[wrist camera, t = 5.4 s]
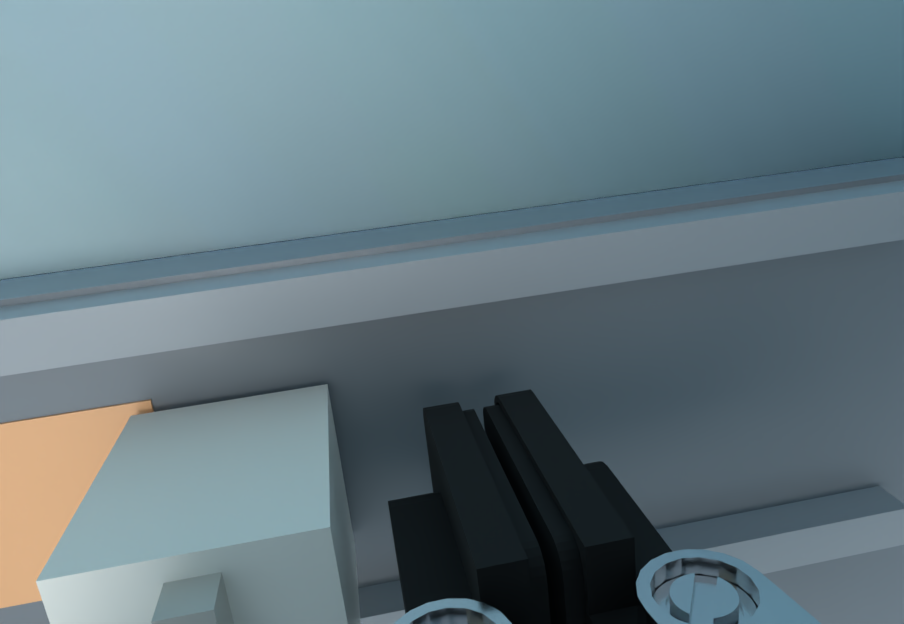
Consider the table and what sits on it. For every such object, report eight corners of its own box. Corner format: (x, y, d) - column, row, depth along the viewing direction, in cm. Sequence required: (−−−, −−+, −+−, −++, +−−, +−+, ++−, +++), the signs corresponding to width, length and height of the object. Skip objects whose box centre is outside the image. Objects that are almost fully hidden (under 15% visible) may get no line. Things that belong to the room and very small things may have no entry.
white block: (327, 384, 12) (330, 561, 7) (355, 544, 13) (371, 785, 8) (130, 415, 11) (12, 621, 7) (173, 579, 12) (93, 850, 8)
